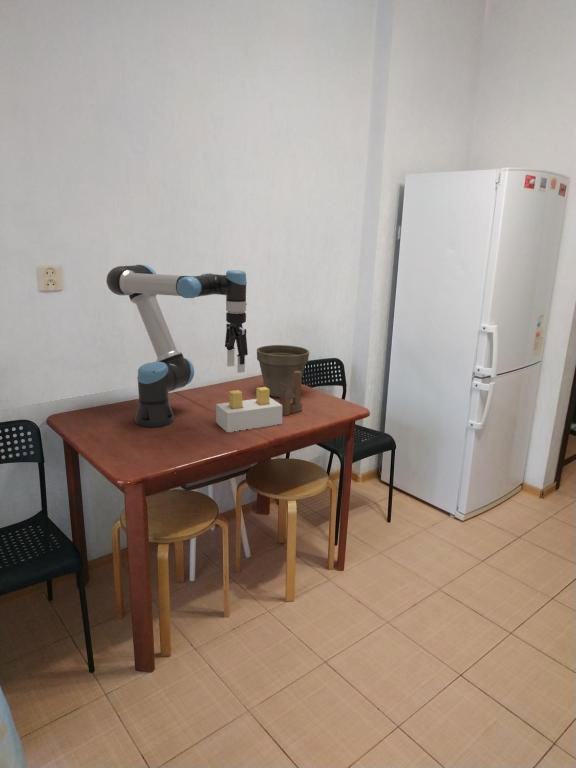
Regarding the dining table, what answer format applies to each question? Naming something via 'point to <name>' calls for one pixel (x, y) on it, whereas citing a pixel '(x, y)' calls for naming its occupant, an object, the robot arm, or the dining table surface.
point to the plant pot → (280, 365)
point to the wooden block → (291, 395)
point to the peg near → (235, 399)
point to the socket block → (248, 415)
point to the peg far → (262, 396)
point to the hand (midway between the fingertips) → (235, 369)
